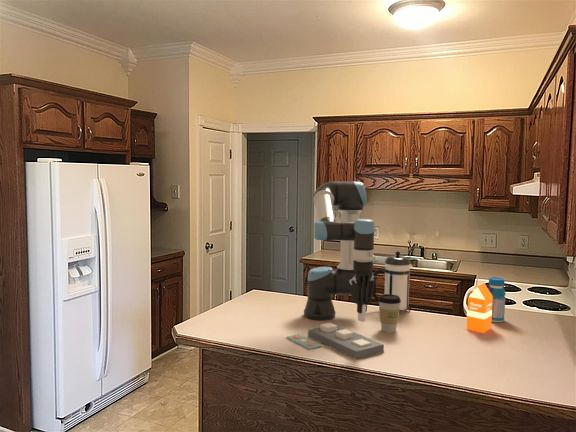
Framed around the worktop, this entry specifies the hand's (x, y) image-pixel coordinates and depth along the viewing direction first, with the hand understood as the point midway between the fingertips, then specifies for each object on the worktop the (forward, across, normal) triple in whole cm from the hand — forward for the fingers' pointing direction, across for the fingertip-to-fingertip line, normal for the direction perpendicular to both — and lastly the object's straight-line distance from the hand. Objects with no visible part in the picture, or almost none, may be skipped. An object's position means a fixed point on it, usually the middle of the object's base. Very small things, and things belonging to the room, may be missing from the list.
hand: (361, 320), depth 184 cm
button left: (+11, 0, +20) cm, 22 cm away
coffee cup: (+13, +28, +12) cm, 33 cm away
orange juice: (+13, +64, -8) cm, 65 cm away
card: (+12, -13, +20) cm, 27 cm away
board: (+12, 0, +10) cm, 15 cm away
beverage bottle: (+13, +82, -4) cm, 83 cm away
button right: (+12, 0, 0) cm, 12 cm away
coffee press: (+13, +53, +34) cm, 64 cm away
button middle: (+11, 0, +10) cm, 14 cm away
